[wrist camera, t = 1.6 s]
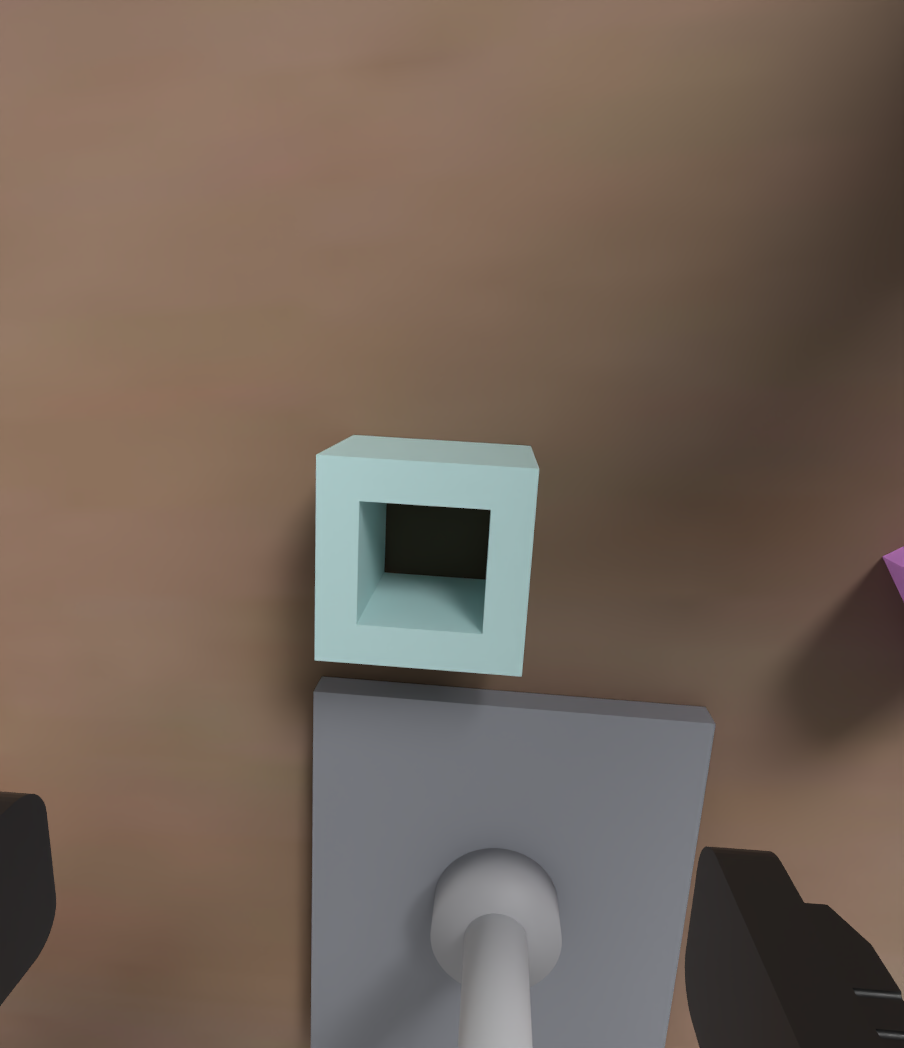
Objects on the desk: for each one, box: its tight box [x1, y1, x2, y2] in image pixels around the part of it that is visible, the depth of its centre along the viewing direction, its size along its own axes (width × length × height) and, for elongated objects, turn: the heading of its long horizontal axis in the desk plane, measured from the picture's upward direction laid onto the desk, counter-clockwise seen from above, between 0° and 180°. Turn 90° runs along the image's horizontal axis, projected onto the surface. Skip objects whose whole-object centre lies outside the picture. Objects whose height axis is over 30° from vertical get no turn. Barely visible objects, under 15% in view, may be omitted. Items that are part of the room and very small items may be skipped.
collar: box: [315, 435, 539, 677], centre depth 22 cm, size 6×6×5 cm
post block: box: [311, 677, 715, 1048], centre depth 22 cm, size 16×14×10 cm
